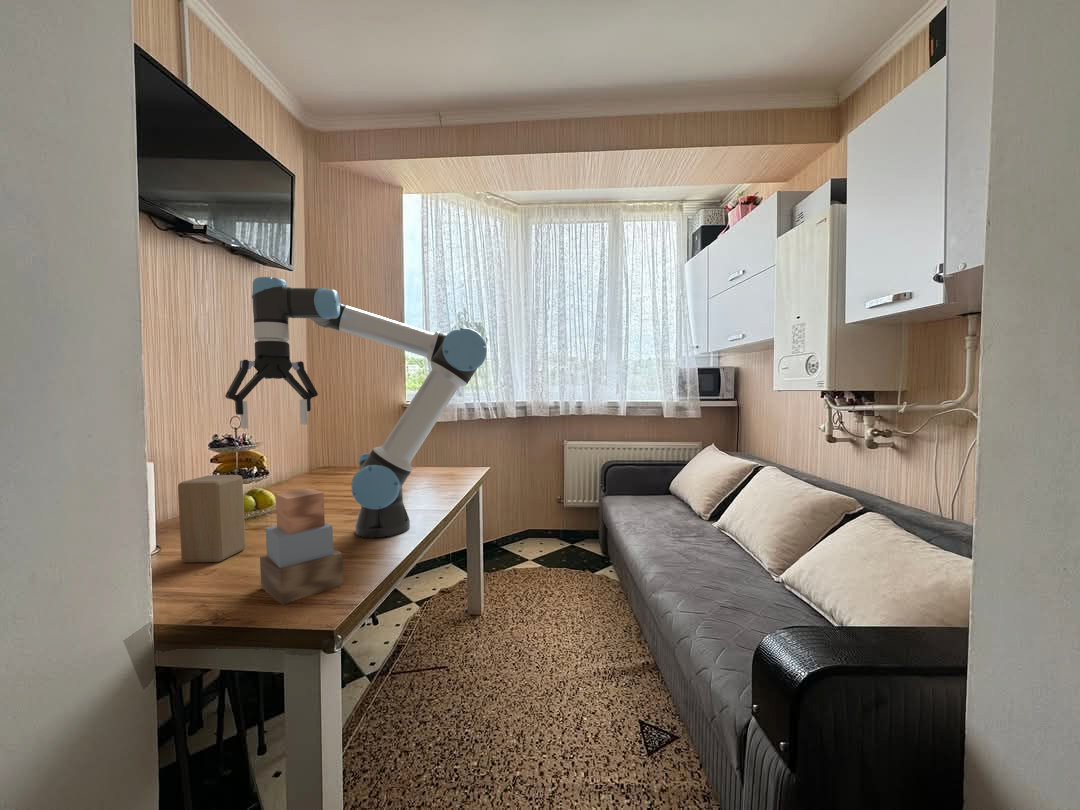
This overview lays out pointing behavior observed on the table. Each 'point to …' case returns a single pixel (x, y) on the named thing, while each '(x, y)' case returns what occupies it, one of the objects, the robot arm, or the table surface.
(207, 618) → the table surface
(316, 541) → the tower top
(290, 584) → the tower base
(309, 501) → the cube
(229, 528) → the block
